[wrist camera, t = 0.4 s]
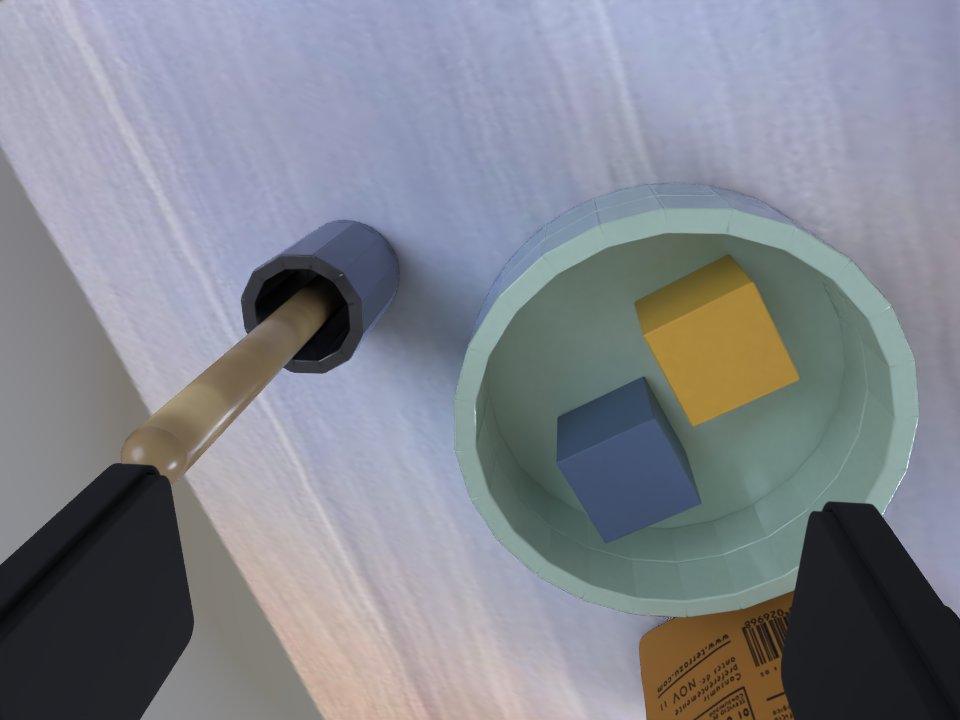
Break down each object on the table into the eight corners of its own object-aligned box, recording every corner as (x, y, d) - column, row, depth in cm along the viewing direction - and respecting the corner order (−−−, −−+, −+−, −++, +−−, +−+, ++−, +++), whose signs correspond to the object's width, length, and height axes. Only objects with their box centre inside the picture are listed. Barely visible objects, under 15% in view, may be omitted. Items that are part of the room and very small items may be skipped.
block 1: (556, 416, 32) (555, 463, 28) (643, 375, 31) (654, 417, 27) (600, 490, 33) (605, 544, 29) (686, 453, 32) (702, 504, 28)
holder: (279, 251, 31) (217, 292, 25) (362, 200, 30) (316, 231, 24) (336, 336, 32) (288, 393, 27) (419, 290, 31) (386, 339, 25)
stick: (322, 267, 31) (93, 458, 16) (350, 251, 30) (143, 430, 15) (341, 296, 31) (135, 510, 16) (369, 280, 31) (185, 484, 16)
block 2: (632, 301, 30) (642, 335, 26) (729, 253, 29) (753, 280, 25) (677, 384, 31) (692, 428, 27) (772, 340, 30) (801, 379, 26)
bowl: (401, 302, 31) (370, 349, 26) (762, 101, 27) (808, 110, 22) (579, 582, 35) (581, 669, 30) (916, 446, 31) (985, 520, 26)
